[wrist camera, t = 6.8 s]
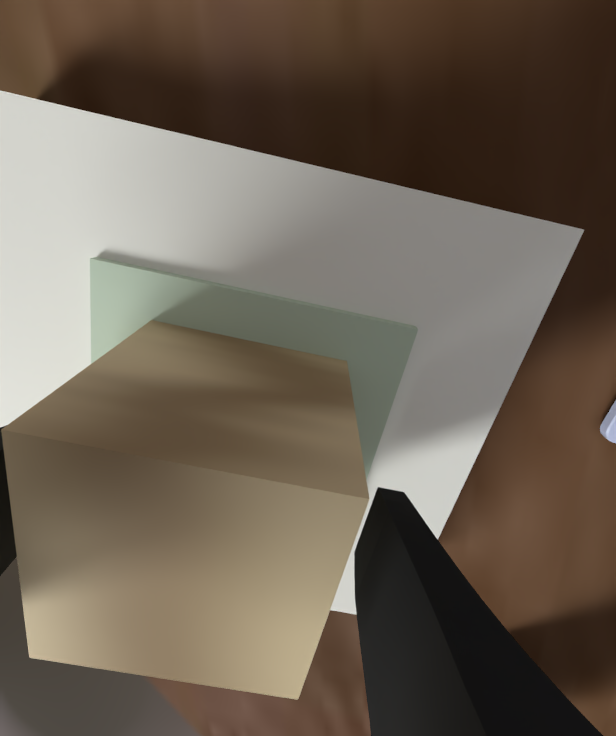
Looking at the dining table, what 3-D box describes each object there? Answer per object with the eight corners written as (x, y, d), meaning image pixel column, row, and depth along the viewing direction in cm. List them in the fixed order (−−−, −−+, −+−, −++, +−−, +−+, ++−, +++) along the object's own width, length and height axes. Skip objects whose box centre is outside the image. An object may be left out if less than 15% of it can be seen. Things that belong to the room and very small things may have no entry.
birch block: (346, 360, 10) (369, 499, 5) (306, 507, 12) (297, 699, 7) (151, 320, 10) (1, 429, 5) (143, 477, 12) (29, 657, 7)
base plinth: (529, 223, 11) (592, 230, 9) (388, 563, 17) (400, 629, 14) (31, 104, 10) (-65, 73, 8) (55, 504, 16) (5, 563, 13)
